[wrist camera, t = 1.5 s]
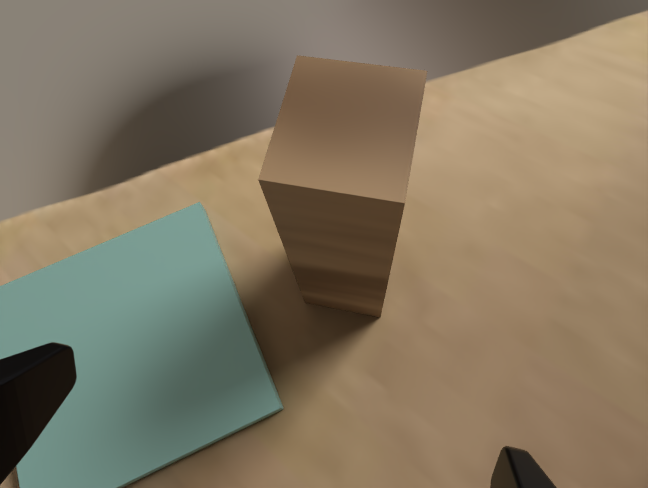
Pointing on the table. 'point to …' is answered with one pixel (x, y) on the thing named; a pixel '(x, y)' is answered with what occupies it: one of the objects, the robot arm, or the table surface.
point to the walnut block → (342, 176)
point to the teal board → (139, 354)
